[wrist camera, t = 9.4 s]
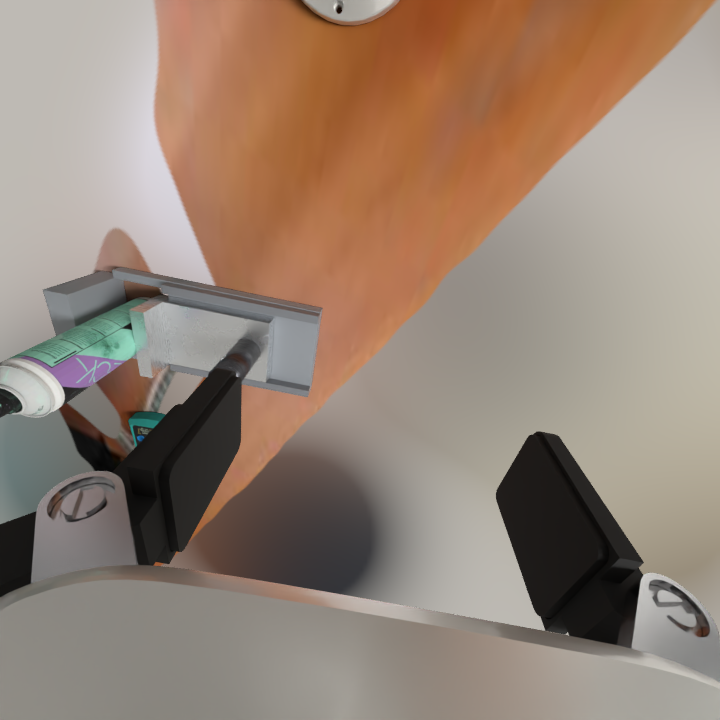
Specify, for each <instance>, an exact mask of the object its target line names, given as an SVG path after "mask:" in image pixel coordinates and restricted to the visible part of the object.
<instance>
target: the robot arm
mask: <svg viewBox="0 0 720 720" xmlns="http://www.w3.org/2000/svg"><path fill="white" fill-rule="evenodd" d="M399 1H400V0H302V2H303V3H304V4H305V5H306V6H308V7H309V8H310V9H311V10H312V11H313V12H314V13H315V14H317V15H319V16H320V17H322V18H324V19H326V20H327V21H330V22H333V23H337V24H340V25H360V24H364V23H368V22H371V21H373V20H375V19H377V18H379V17H381V16H383V15H384V14H385V13H387V12H388V11H389V10H390V9H391V8H393V7H394V6H395V5H396V4H397V3H398V2H399ZM338 8H342V12H341V13H340V14H338V13H337V9H338ZM241 384H242V381H241V378H240V377H237V376H236V372H235V371H230V370H225V369H220V368H215V369H214V370H213V371H212V372H211V373H210V375H209V376H208V377H207V378H206V379H205V380H204V381H203V382H202V383H201V385H200V386H199V387H198V388H197V389H196V390H195V391H194V392H193V393H192V394H191V396H190V397H189V398H188V399H187V400H186V401H185V402H184V403H183V404H178V405H175V406H174V407H173V408H172V409H171V410H170V411H169V412H168V413H167V414H166V415H165V416H164V417H163V418H162V420H161V421H160V422H159V423H158V424H157V425H156V426H155V427H154V428H153V429H152V430H151V431H150V432H149V434H148V435H147V436H146V437H145V438H144V439H143V440H142V441H141V442H140V443H139V444H138V445H137V446H136V447H135V449H134V450H133V451H132V452H131V453H130V454H129V455H128V456H127V457H126V458H125V459H124V460H123V461H122V462H121V464H120V465H119V466H118V467H117V468H116V469H115V470H114V471H113V472H112V473H110V472H107V471H93V472H88V473H82V474H79V475H77V476H74V477H71V478H69V479H67V480H65V481H63V482H62V483H60V484H58V485H56V486H55V487H54V488H53V489H52V490H50V491H49V492H48V493H47V494H46V495H45V496H44V498H43V499H42V500H41V502H40V503H39V506H38V509H37V511H36V512H33V513H31V514H28V515H25V516H22V517H20V518H17V519H14V520H11V521H8V522H6V523H3V524H0V720H720V635H719V632H718V629H717V625H716V624H715V622H714V620H713V618H712V617H711V615H710V614H709V612H708V611H707V610H706V609H705V608H704V606H703V605H702V604H701V603H700V602H699V601H698V600H697V599H696V598H695V597H694V596H693V595H692V594H691V593H690V592H688V591H687V590H686V589H685V588H683V587H682V586H681V585H680V584H678V583H676V582H675V581H673V580H671V579H670V578H668V577H665V576H663V575H660V574H657V573H647V574H645V575H643V574H642V573H641V571H640V570H639V567H640V566H641V565H642V564H643V563H644V562H643V561H642V559H641V558H640V556H639V555H638V553H637V552H636V550H635V549H634V547H633V546H632V544H631V543H630V541H629V540H628V538H627V537H626V535H625V534H624V532H623V531H622V529H621V528H620V527H619V525H618V523H617V522H616V520H615V519H614V518H613V516H612V514H611V513H610V512H609V510H608V509H607V507H606V506H605V504H604V503H603V501H602V500H601V498H600V497H599V495H598V494H597V492H596V491H595V489H594V488H593V486H592V485H591V483H590V482H589V480H588V479H587V477H586V476H585V474H584V473H583V471H582V470H581V469H580V467H579V465H578V464H577V463H576V461H575V459H574V458H573V457H572V455H571V454H570V452H569V451H568V449H567V448H566V446H565V445H564V443H563V442H562V440H561V439H560V437H559V436H557V435H555V434H550V433H545V432H536V433H534V434H533V435H530V436H529V437H528V438H527V440H526V441H525V443H524V445H523V446H522V448H521V450H520V451H519V454H518V455H517V456H516V458H515V460H514V462H513V463H512V465H511V467H510V469H509V470H508V472H507V474H506V475H505V477H504V479H503V480H502V482H501V484H500V485H499V487H498V489H497V492H496V500H497V503H498V506H499V509H500V512H501V515H502V518H503V521H504V524H505V527H506V529H507V532H508V535H509V538H510V541H511V544H512V547H513V550H514V553H515V555H516V559H517V561H518V564H519V567H520V570H521V573H522V576H523V579H524V582H525V585H526V588H527V591H528V593H529V596H530V599H531V602H532V605H533V608H534V610H535V612H536V613H537V615H539V616H541V619H542V622H543V625H544V628H545V631H542V630H536V629H531V628H525V627H520V626H514V625H509V624H503V623H498V622H493V621H487V620H482V619H476V618H470V617H465V616H459V615H454V614H448V613H443V612H437V611H431V610H426V609H420V608H415V607H408V606H404V605H398V604H392V603H387V602H381V601H375V600H370V599H364V598H358V597H353V596H347V595H341V594H335V593H329V592H324V591H318V590H312V589H306V588H300V587H294V586H289V585H283V584H276V583H271V582H265V581H260V580H253V579H248V578H241V577H235V576H228V575H221V574H215V573H208V572H202V571H195V570H189V569H181V568H170V567H161V566H153V565H154V563H155V562H160V563H166V564H169V563H170V562H171V560H172V558H173V556H174V555H175V553H176V551H178V552H182V551H183V550H184V549H185V547H186V545H187V544H188V542H189V540H190V538H191V536H192V534H193V533H194V531H195V529H196V527H197V525H198V523H199V522H200V520H201V518H202V516H203V514H204V512H205V511H206V509H207V507H208V505H209V503H210V501H211V499H212V498H213V496H214V494H215V492H216V490H217V488H218V487H219V485H220V483H221V481H222V479H223V477H224V476H225V474H226V472H227V470H228V468H229V466H230V465H231V463H232V461H233V459H234V457H235V455H236V454H237V452H238V449H239V446H240V442H241ZM547 631H549V632H547ZM553 632H554V633H553ZM567 632H568V633H569V636H568V635H563V634H566V633H567ZM558 633H560V634H558Z"/></svg>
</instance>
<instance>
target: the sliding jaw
mask: <svg viewBox="0 0 720 720" xmlns="http://www.w3.org/2000/svg"><path fill="white" fill-rule="evenodd" d="M129 312H130V318H131V324H132V330H133V336H134V342H135V348H136V354H137V360H138V366H139V372H140V376H144V377H150V378H153V377H155V376H156V375H157V374H158V373H159V372H161V371H162V370H163V369H164V368H165V367H166V366H168V365H169V364H174V365H179V366H184V367H189V368H194V369H200V370H205V371H210V372H209V374H208V376H209V375H210V373H211V372H212V371H213V370H214V369H215V368H220V369H225V370H230V371H235V372H236V376H237V377H240V378H241V381H243V380H244V378H245V379H251V380H256V381H261V382H267V380H268V379H269V377H270V375H271V365H272V349H273V334H274V318H275V317H270V316H266V315H261V314H256V313H251V312H246V311H241V310H236V309H231V308H226V307H221V306H216V305H211V304H206V303H201V302H196V301H191V300H187V299H182V298H177V297H172V296H167V295H162V294H160V295H158V296H156V297H154V298H152V299H150V300H148V301H146V302H144V303H142V304H140V305H138V306H136V307H134V308H132V309H130V310H129Z"/></svg>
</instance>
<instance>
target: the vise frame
mask: <svg viewBox="0 0 720 720" xmlns="http://www.w3.org/2000/svg"><path fill="white" fill-rule="evenodd" d="M112 272H113V273H110V272H105V271H100V272H97V273H94V274H91V275H88V276H84V277H81V278H78V279H75V280H72V281H69V282H66V283H63V284H60V285H57V286H54V287H50V288H47V289H44V290H43V292H44V296H45V299H46V302H47V306H48V309H49V312H50V316H51V319H52V323H53V326H54V330H55V333H56V336H57V335H59V334H62V333H64V332H66V331H68V330H70V329H72V328H74V327H76V326H78V325H81V324H83V323H85V322H87V321H89V320H91V319H93V318H95V317H97V316H99V315H102V314H104V313H106V312H108V311H110V310H112V309H114V308H116V307H118V306H120V305H123V304H125V303H127V299H126V293H125V287H124V281H123V280H125V281H130V282H135V283H140V284H145V285H150V286H155V287H160V288H161V289H162V293H164V294H168V295H169V296H172V297H177V298H182V299H187V300H191V301H196V302H201V303H206V304H211V305H216V306H221V307H226V308H231V309H236V310H241V311H246V312H251V313H256V314H261V315H266V316H270V317H275V318H274V334H273V349H272V365H271V375H270V377H269V379H268V380H267V382H261V381H256V380H251V379H245V378H244V380H243V381H242V384H243V385H248V386H253V387H258V388H263V389H269V390H274V391H279V392H284V393H289V394H294V395H299V396H304V397H308V395H309V392H310V389H311V386H312V379H313V372H314V365H315V358H316V351H317V344H318V336H319V329H320V322H321V315H322V308H320V307H315V306H310V305H305V304H300V303H295V302H290V301H285V300H280V299H276V298H271V297H266V296H261V295H256V294H251V293H246V292H241V291H236V290H232V289H227V288H222V287H217V286H212V285H206V284H202V283H197V282H192V281H187V280H183V279H178V278H173V277H168V276H163V275H158V274H153V273H148V272H143V271H139V270H134V269H129V268H124V267H119V268H116V269H113V270H112ZM131 358H135V359H137V354H135V355H134V356H133V357H131ZM169 365H170V369H171V371H177V372H182V373H187V374H192V375H197V376H202V377H208V374H209V372H210V371H205V370H200V369H194V368H189V367H184V366H179V365H174V364H169Z"/></svg>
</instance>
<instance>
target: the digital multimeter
mask: <svg viewBox="0 0 720 720" xmlns="http://www.w3.org/2000/svg"><path fill="white" fill-rule="evenodd" d="M164 416H165V414H162V413H155V412H136V413H135V414H134V415H133V416H132V417H131V418H130V419H129V420H128V422H129V425H130V429H131V432H132V435H133V439H134V443H135V447H136V446H137V445H138V444H139V443H140V442H141V441H142V440H143V439H144V438H145V437H146V436H147V435H148V434H149V432H150V431H151V430H152V429H153V428H154V427H155V426H156V425H157V424H158V423H159V422H160V421H161V420H162V418H163V417H164Z"/></svg>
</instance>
